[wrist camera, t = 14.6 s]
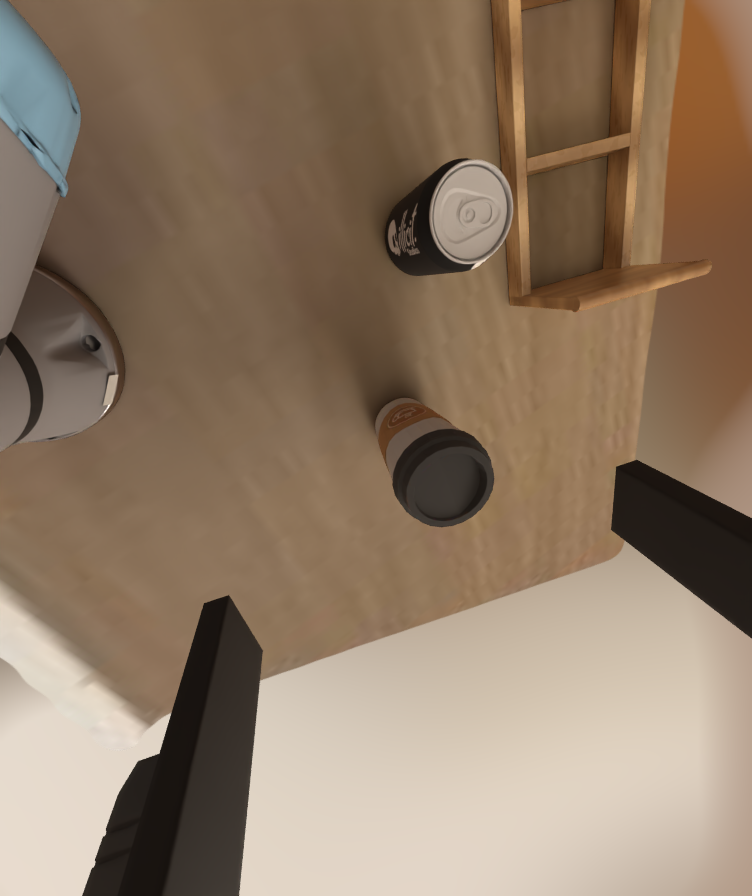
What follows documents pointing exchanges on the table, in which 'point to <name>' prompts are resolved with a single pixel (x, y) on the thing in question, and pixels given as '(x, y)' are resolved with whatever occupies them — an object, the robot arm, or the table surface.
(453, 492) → the coffee cup
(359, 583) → the table surface
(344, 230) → the table surface
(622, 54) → the rack
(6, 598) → the table surface
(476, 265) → the beverage can
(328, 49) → the table surface
